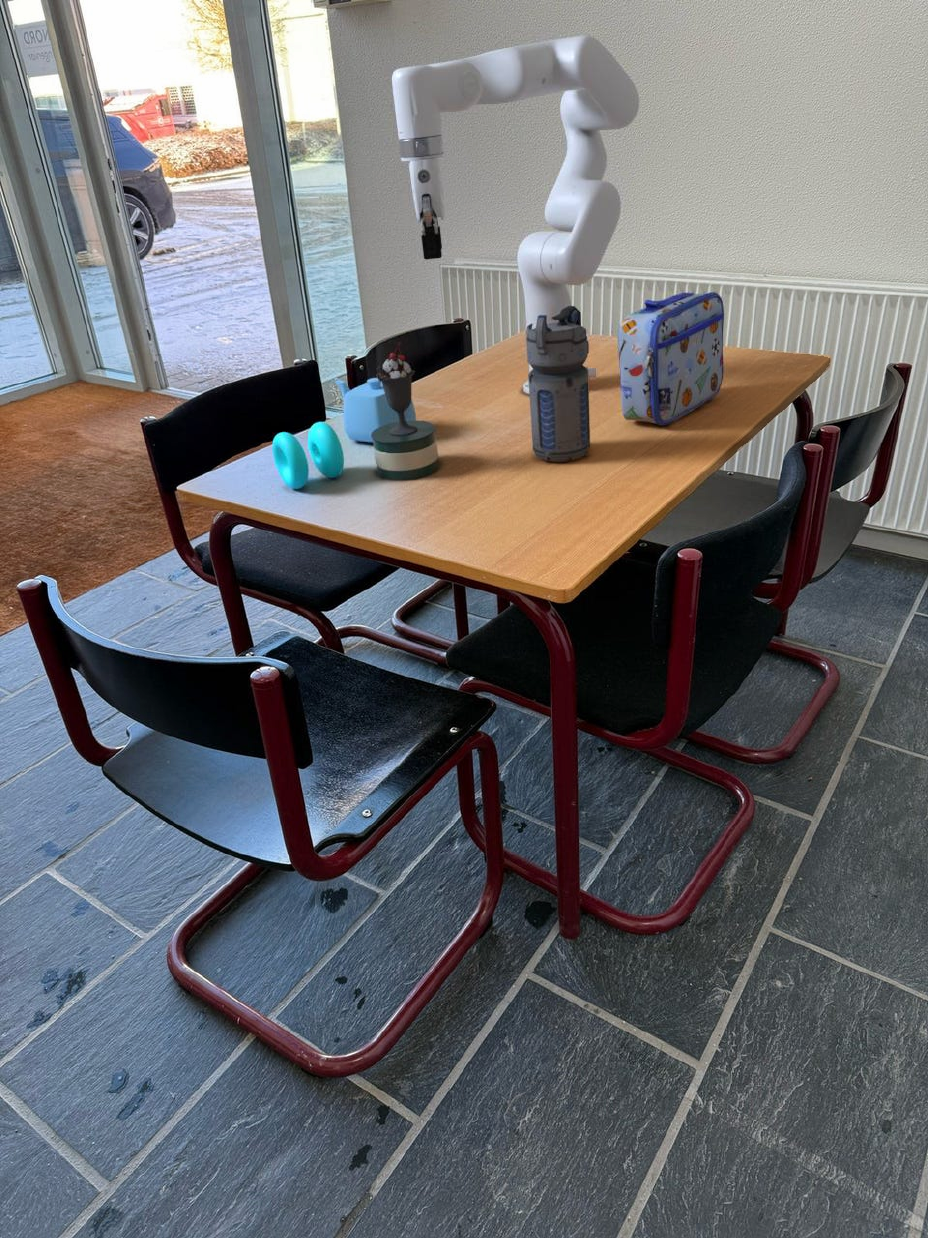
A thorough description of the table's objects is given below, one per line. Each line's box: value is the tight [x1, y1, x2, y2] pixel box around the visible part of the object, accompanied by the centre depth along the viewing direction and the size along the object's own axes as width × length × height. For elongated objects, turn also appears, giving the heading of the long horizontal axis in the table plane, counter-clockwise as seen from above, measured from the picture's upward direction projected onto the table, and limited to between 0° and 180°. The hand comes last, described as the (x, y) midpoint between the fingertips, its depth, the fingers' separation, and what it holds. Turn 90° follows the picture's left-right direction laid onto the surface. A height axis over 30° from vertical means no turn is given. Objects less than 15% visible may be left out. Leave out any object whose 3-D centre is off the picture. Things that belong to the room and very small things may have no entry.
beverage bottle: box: [525, 305, 591, 463], centre depth 156 cm, size 10×13×25 cm
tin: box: [371, 419, 440, 481], centre depth 161 cm, size 11×11×7 cm
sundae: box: [375, 341, 417, 436], centre depth 156 cm, size 7×7×15 cm
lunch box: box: [617, 291, 725, 427], centre depth 170 cm, size 28×10×22 cm, turn 140°
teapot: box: [333, 377, 417, 443], centre depth 178 cm, size 12×18×12 cm
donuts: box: [271, 421, 345, 490], centre depth 159 cm, size 10×10×10 cm
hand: (433, 254), depth 165 cm, fingers open, 9 cm apart
